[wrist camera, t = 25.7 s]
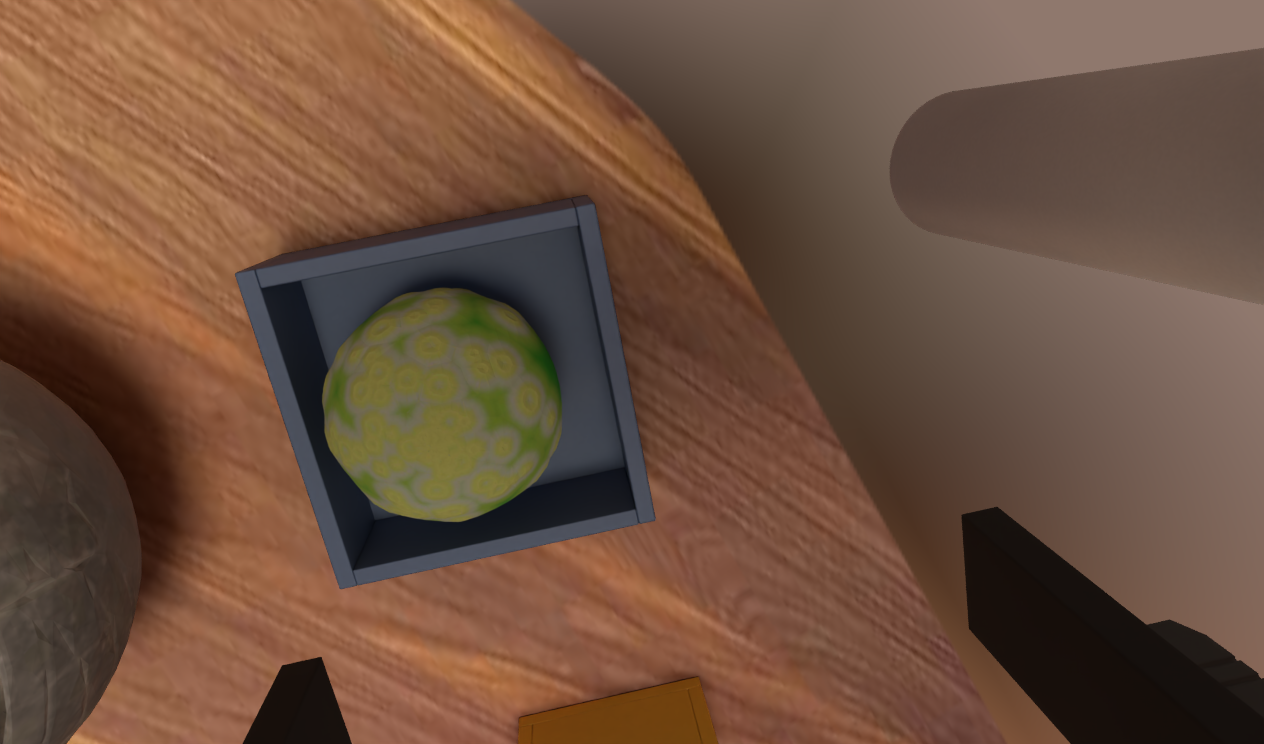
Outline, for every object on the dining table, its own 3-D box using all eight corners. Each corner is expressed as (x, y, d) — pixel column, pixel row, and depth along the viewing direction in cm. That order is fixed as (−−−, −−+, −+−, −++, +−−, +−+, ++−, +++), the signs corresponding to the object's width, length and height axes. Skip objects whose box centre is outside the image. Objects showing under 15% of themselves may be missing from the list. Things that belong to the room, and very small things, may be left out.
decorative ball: (316, 400, 38) (239, 485, 28) (428, 230, 36) (387, 259, 27) (489, 502, 40) (472, 612, 31) (601, 347, 39) (620, 412, 29)
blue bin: (587, 194, 37) (594, 202, 32) (641, 471, 42) (656, 521, 36) (280, 254, 37) (233, 273, 31) (367, 530, 41) (339, 590, 35)
